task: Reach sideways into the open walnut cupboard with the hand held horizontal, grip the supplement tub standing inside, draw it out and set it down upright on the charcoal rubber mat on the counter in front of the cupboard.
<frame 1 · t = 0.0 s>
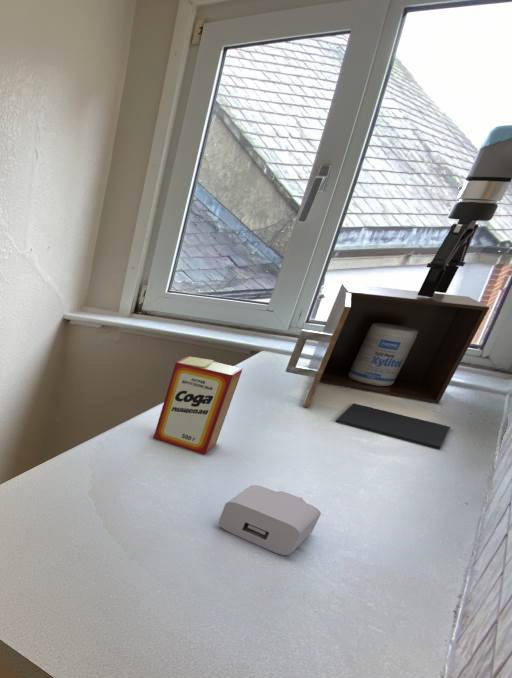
hand: (431, 294, 137), 24 cm above the counter, tool pointing down, fingers open, 13 cm apart
mat: (391, 425, 120), on the counter
charger: (270, 526, 81), on the counter
baking soda box: (183, 442, 108), on the counter
cupboard: (367, 383, 147), on the counter
supplement tub: (369, 382, 146), point 1 cm above the counter, touching cupboard
cupboard door: (313, 345, 134), point 12 cm above the counter, hinge at 95.0°
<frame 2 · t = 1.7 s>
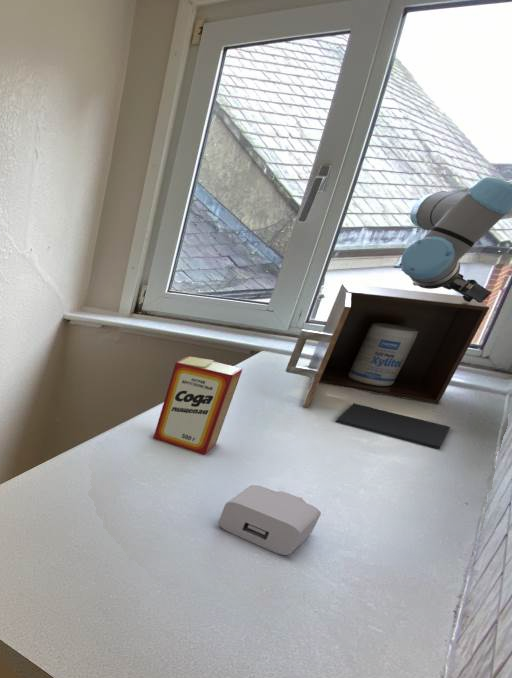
hand: (443, 283, 132), 27 cm above the counter, tool horizontal, fingers open, 11 cm apart
nothing on the counter moved.
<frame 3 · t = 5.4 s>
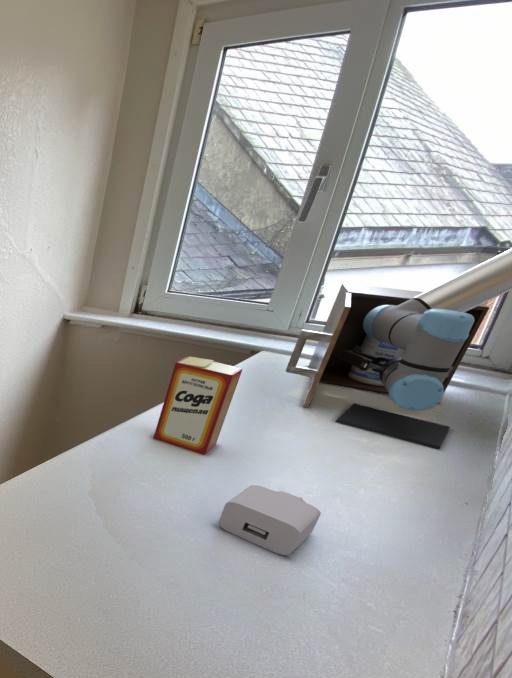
hand: (388, 355, 136), 10 cm above the counter, tool horizontal, fingers open, 13 cm apart
nothing on the counter moved.
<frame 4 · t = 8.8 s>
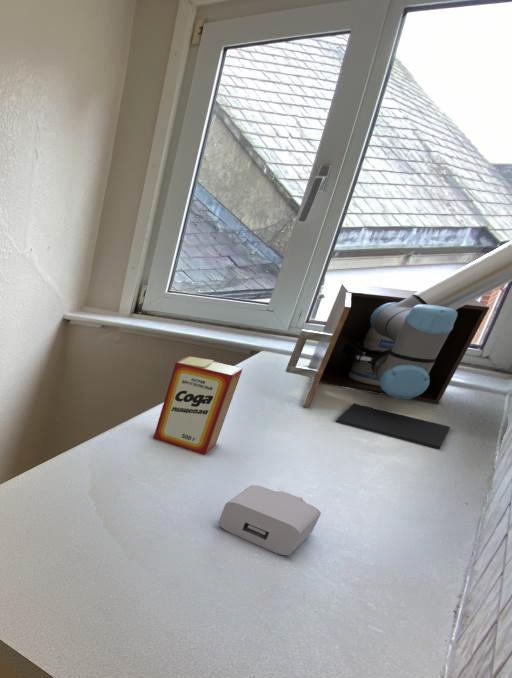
hand: (380, 348, 146), 9 cm above the counter, tool horizontal, fingers closed on supplement tub, 9 cm apart
supplement tub: (369, 382, 146), point 1 cm above the counter, touching cupboard, gripper
everything else where it was.
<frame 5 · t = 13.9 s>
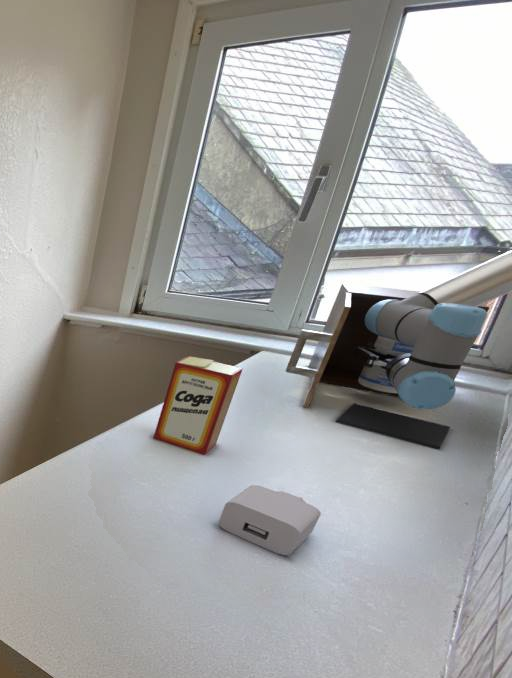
hand: (393, 351, 133), 11 cm above the counter, tool horizontal, fingers closed on supplement tub, 9 cm apart
supplement tub: (380, 388, 134), point 3 cm above the counter, touching gripper
everything else where it was.
when the fingers open (9 cm above the counter, at t = 19.1 s): supplement tub stays where it is, resting on mat.
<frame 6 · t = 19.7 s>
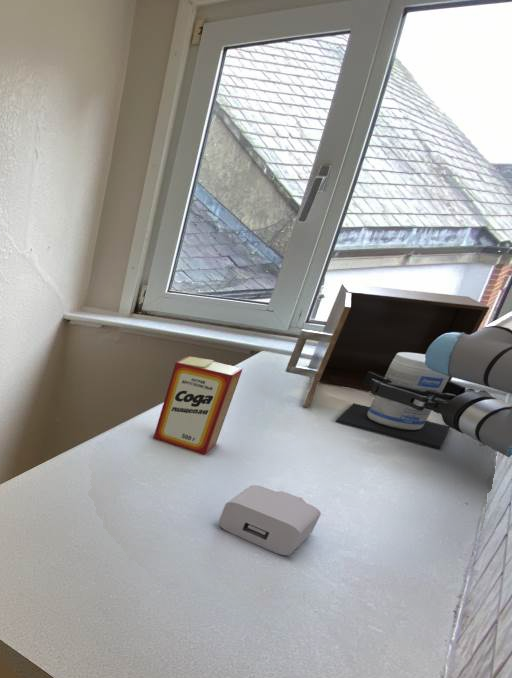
hand: (401, 380, 119), 9 cm above the counter, tool horizontal, fingers open, 13 cm apart
supplement tub: (392, 423, 120), resting on mat
everything else where it was.
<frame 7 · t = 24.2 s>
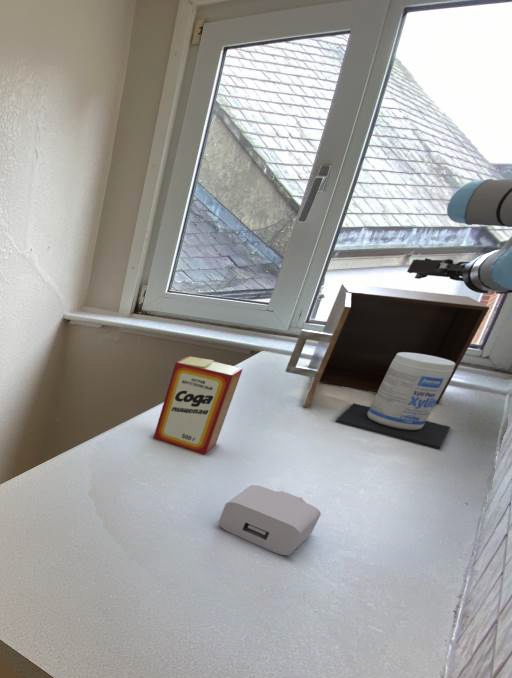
hand: (459, 279, 117), 30 cm above the counter, tool horizontal, fingers open, 13 cm apart
nothing on the counter moved.
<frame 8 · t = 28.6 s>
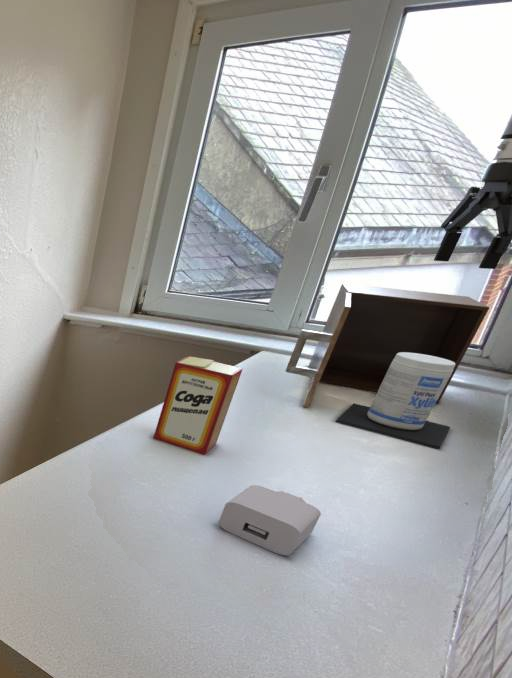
hand: (462, 264, 128), 32 cm above the counter, tool pointing down, fingers open, 13 cm apart
nothing on the counter moved.
at the end: supplement tub inside the target area on the mat (0.0 cm from its centre), point 0.4 cm above the mat's base; supplement tub tilted 0°; the gripper is holding nothing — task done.
